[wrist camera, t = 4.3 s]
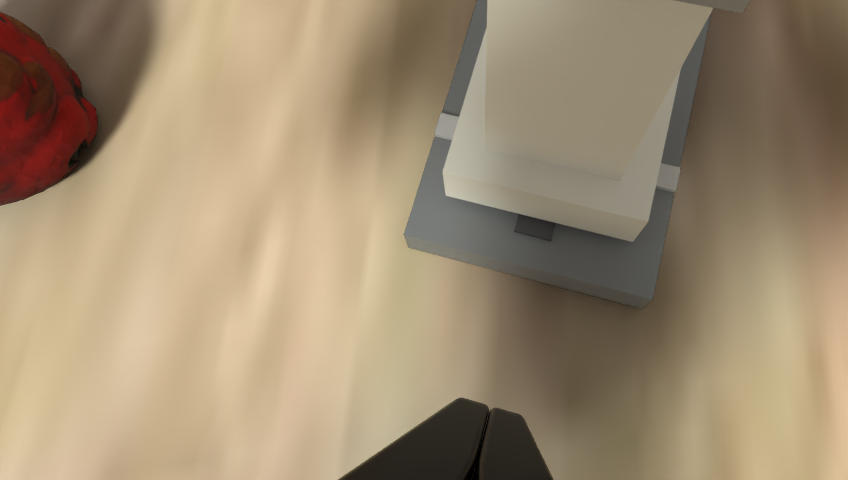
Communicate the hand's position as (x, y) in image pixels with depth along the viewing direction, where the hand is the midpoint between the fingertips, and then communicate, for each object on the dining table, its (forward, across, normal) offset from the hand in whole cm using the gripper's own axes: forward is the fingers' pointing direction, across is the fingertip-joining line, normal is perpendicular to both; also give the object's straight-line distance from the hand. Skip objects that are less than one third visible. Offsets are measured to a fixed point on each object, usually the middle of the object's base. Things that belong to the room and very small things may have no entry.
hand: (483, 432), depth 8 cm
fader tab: (+15, 0, -1) cm, 15 cm away
